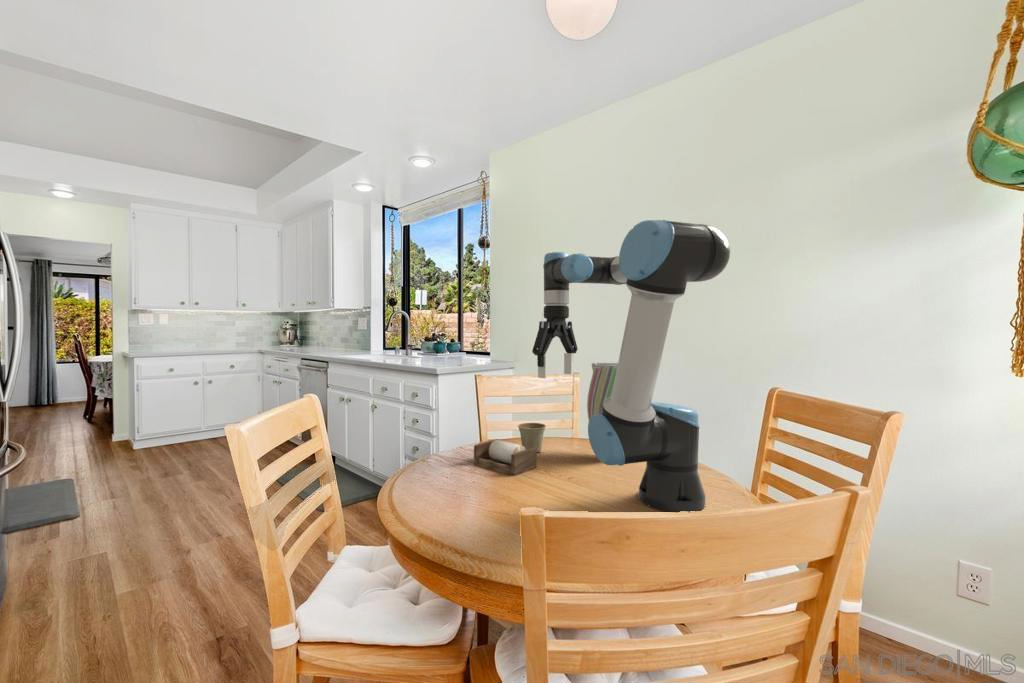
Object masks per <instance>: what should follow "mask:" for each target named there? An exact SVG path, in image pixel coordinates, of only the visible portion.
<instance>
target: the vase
mask: <svg viewBox="0 0 1024 683" xmlns="http://www.w3.org/2000/svg"><path fill="white" fill-rule="evenodd" d="M617 366H618V362H591V368H592V376H591V379H590V383H589V388H588V394H587V399H586V400H587V401H586V402H587V403H586V408H587V410H586V411H587V418H588V420H589V419H590V418H591V416H593V415H594V414H596V413H601V412H602V407H603V402H604V400H605V399H607V398H608V397H610V396H612V392H613V387H614V382H615V377H616V372H617Z"/></svg>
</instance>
